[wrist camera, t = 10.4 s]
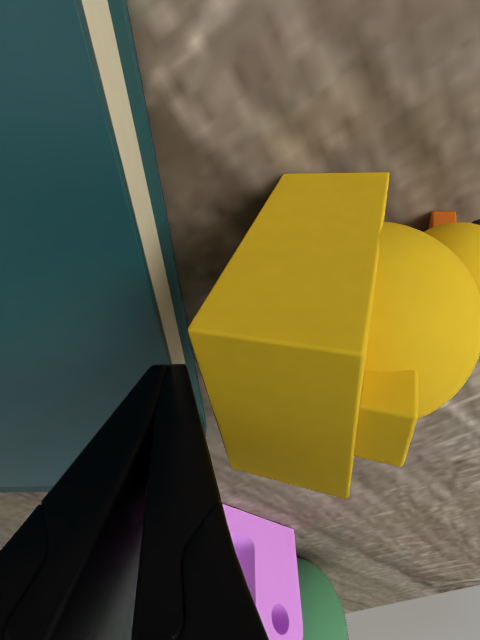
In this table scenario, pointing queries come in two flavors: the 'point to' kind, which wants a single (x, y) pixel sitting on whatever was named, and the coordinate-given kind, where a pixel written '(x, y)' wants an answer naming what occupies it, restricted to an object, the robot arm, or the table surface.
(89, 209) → the book
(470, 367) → the rubber duck
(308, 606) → the alien toy
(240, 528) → the bracket
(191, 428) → the robot arm
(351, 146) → the table surface
